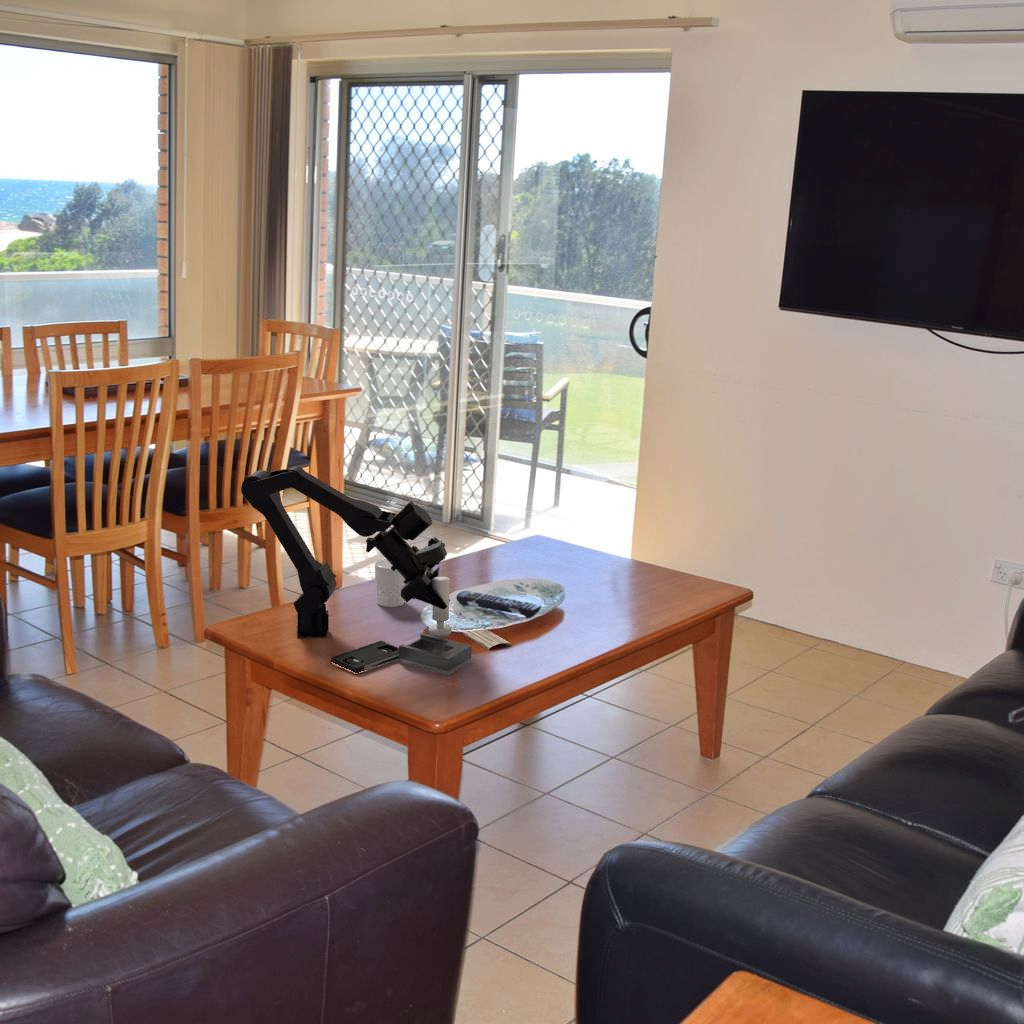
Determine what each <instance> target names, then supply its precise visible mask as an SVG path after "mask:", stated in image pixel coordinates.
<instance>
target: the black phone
mask: <svg viewBox="0 0 1024 1024" xmlns="http://www.w3.org/2000/svg"><path fill="white" fill-rule="evenodd" d="M346 658H347V659H346ZM344 659H345V661H344ZM395 661H399V646H396V645H393V644H391V643H387V642H386V641H383V640H378V641H375V642H373V643H370V644H367V645H364V646H360V647H358V648H355V649H351V650H349V651H346V652H343V653H340V654H339V653H338V654H336V655H334V656H331V657H330V663H331V662H333V663H335V664H338V665H339V666H341V667H344V668H346V669H349V670H351V671H353V672H355V673H359V672H361V671H365V670H368V671H370V670H369V669H371V670H373V669H372V668H374V669H376V668H379V667H382V666H384V665H387V663H388V664H390V663H393V662H395ZM365 672H366V671H365Z"/></svg>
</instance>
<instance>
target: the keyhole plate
mask: <svg viewBox="0 0 1024 1024" xmlns="http://www.w3.org/2000/svg"><path fill="white" fill-rule="evenodd" d="M398 648H399V660H398V663H400V664H404V665H407V666H410V667H415V668H417V669H421V670H424V671H425V670H426V671H429V672H432V673H435V674H440V675H443V676H448V677H449V676H450V675H452V674H454V673H456V672H458V670H461V669H462V668H464V667H466V666H468V665H470V664H471V663H472V649H473V647H472V645H470V644H466V643H462V642H458V641H455V640H452V639H447V638H445V637H436V636H432V635H430V634H429V633H421V634H420V638H418V639H416V640H415V641H412V642H410V643H408V644H403V643H401V644H399V646H398Z"/></svg>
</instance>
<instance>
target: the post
mask: <svg viewBox="0 0 1024 1024" xmlns="http://www.w3.org/2000/svg"><path fill="white" fill-rule="evenodd" d="M450 583H451V579H450V578H449V577H447V576H439V577H435V578H434V587H435V589H436V590H437V592H438V593H439V595H440V596H441V597H442V599H443V600H444V602H445V603H446V605H447V608H445V609H444V610H443V609H441V608H438V607H436V606H433V605H432V611H431V612H432V615H431V616H432V620H433V621H436V623H434V624H431V625H429V626H428V635H432V636H436V637H440V638H445V637H449V636H451V635H452V627H450V626H449V625H447V624H445V623H444V621H447V620H448V619H449V611H450V602H449V599H450V589H451V588H450V587H451V584H450Z"/></svg>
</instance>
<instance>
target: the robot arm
mask: <svg viewBox="0 0 1024 1024" xmlns="http://www.w3.org/2000/svg"><path fill="white" fill-rule="evenodd" d="M287 489H288V490H289V489H293V490H295V491H298V493H301V494H302V495H304V496H306V497H307V498H309V499H311V500H312V501H315V502H316V503H318V504H319V505H321V506H323V507H324V508H326V509H328V510H329V511H331V512H333V513H335V514H336V515H338V517H339V518H341V519H342V520H343V521H344V523H345V524H346V525H347V526H348V527H349V528H350V529H351V530H352V531H354V532H355V534H357V535H359V536H361V537H363V538H364V537H365V538H366V539H365V542H366V543H365V544H366V549H365V552H366V553H369V552H371V551H372V550H373V549H374V548H375V549H376V550H377V551H378V552H379V554H381V555H382V556H383V558H384V559H387V560H388V561H389V562H390V564H391V565H392V566H391V569H392V570H393V571H395V570H397V571H398V572H399V573H400V574H401V575H402V576H403V577H404V579H405V580H404V581H403V582H404V583H405V585H404V587H403V588H402V590H401V597H402V598H403V599H404V600H405V602H406V603H408V602H410V601H411V600H412V599H413V600H417V601H421V602H424V603H426V604H429V605H431V606H432V607H433V606H436V607H438V608H441V609H443V610H444V609H445V608H447V605H446V603H445V602H444V600H443V599H442V597H441V596H440V595H439V593H438V592H437V590H436V589H435V587H434V578H435V577H440V570H441V567H440V566H439V564H440V563H441V562H442V561H444V560H445V559H446V556H448V552H447V549H446V548H445V546H446V544H445V543H444V542H443V541H442V540H439V538H437V537H431V538H429V540H428V541H427V542H428V543H427V545H425V546H424V547H423V548H420V549H419V548H418V547H417V546H416V545H412V546H411V545H410V544H409V543H408V542H407V541H409V540H410V541H415V539H417V538H418V537H420V535H421V534H422V533H424V532H425V531H426V530H427V529H428V528H430V527H431V526H432V525H433V520H432V517H431V516H430V513H428V512H427V511H426V510H425V508H422V507H421V506H420V505H418V504H415V503H414V502H413V501H412V500H410V501H409V502H408V503H407V504H406V505H405V506H404V507H403V508H402V509H401V510H400V511H399V512H398V513H396V512H390V511H386V510H383V509H381V508H380V507H379V506H377V505H375V504H372V503H370V502H367V501H365V500H360V499H356V498H353V497H350V496H348V495H346V494H344V493H342V492H341V491H339V490H337V489H336V488H335V487H333V486H331V485H329V484H328V483H326V482H325V481H323V480H321V479H319V478H317V477H316V476H314V475H312V474H311V473H309V472H307V471H306V470H305V469H303V468H302V467H301V466H292V467H290V468H283V469H276V470H272V471H268V470H264V469H259V470H256V471H254V472H253V473H252V474H250V475H248V476H247V477H246V478H245V479H244V480H243V481H242V483H241V487H240V491H241V495H242V496H243V497H244V499H245V500H246V501H247V502H248V504H250V506H251V507H252V508H254V510H256V511H257V512H259V513H260V514H261V515H262V516H263V517H264V519H266V521H267V522H268V525H269V526H270V528H271V530H272V532H273V533H274V535H275V537H276V538H277V540H278V541H279V542H280V544H281V546H282V548H283V549H284V552H285V553H286V554H287V556H288V558H289V560H290V561H291V563H292V564H293V566H294V568H295V570H296V571H297V576H298V581H299V586H300V588H301V591H302V593H301V594H300V595H299V596H298V597H297V599H296V600H295V601H294V602H293V605H294V609H295V612H296V613H297V616H296V617H297V619H296V620H297V625H296V637H297V638H325V637H328V636H327V634H328V632H329V630H330V629H329V627H330V625H329V622H330V621H329V619H330V618H329V617H330V615H329V614H330V613H329V610H327V605H326V603H327V602H328V600H329V599H330V598H331V597H332V596H333V594H334V592H335V591H336V589H337V585H338V583H337V580H336V578H337V575H336V574H335V573H334V572H333V571H332V569H331V566H330V564H329V562H328V561H325V562H324V563H323V564H322V563H320V562H319V561H318V560H317V559H316V558H315V557H314V555H313V554H312V552H311V550H310V549H309V547H308V545H307V543H306V542H305V540H304V539H303V537H302V535H301V534H300V532H299V530H298V528H297V527H296V525H295V524H294V522H293V520H292V518H291V517H290V516H289V514H288V512H287V510H286V509H285V507H284V506H283V502H282V497H281V491H285V490H287ZM391 526H392V527H391ZM390 527H391V528H390ZM389 528H390V529H389ZM378 532H379V533H378ZM376 533H377V534H376ZM375 534H376V535H375ZM371 536H374V537H371ZM435 566H438V567H437V568H436V569H435V570H434V567H435ZM450 602H451V599H450V598H449V603H450Z"/></svg>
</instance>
